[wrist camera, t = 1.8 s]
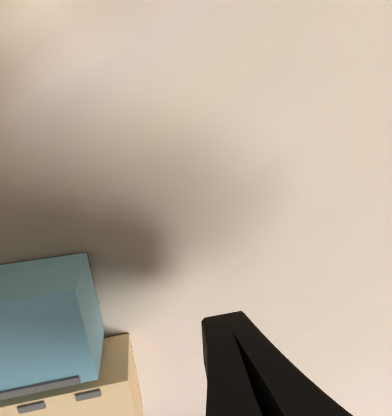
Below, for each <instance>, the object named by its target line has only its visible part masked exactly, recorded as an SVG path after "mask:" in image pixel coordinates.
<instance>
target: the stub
mask: <svg viewBox="0 0 392 416" xmlns="http://www.w3.org/2000/svg"><path fill="white" fill-rule="evenodd" d="M103 338H104V327H103V322H102V318H101V314H100V309H99V305H98V300H97V296H96V292H95V287H94V283H93V278H92V274H91V270H90V265H89V261H88V257H87V253H81V254H74V255H67V256H60V257H52V258H45V259H38V260H31V261H24V262H17V263H10V264H3V265H0V400H4V399H9V398H13V397H18V396H23V395H28V394H33V393H37V392H42V391H47V390H52V389H57V388H61V387H66V386H71V385H76V384H80V383H84V382H88V381H93V380H98V377H99V369H100V362H101V354H102V346H103Z"/></svg>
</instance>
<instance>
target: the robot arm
mask: <svg viewBox="0 0 392 416" xmlns="http://www.w3.org/2000/svg"><path fill="white" fill-rule="evenodd" d="M202 338H203V355H204V365H205V370H206V376H207V402H206V416H353V415H351V414H350V413H349V412H348V411H346V410H345V409H344V408H343V407H341V406H340V405H339V404H338V403H336V402H335V401H334V400H333V399H332V398H330V397H329V396H328V395H327V394H326V393H324V392H323V391H322V390H321V389H320V388H319V387H318V386H316V385H315V384H314V383H313V382H312V381H311V380H310V379H308V378H307V377H306V376H305V375H304V374H303V373H302V372H301V371H300V370H299V369H298V368H296V367H295V366H294V365H293V364H292V363H291V362H290V361H289V360H288V359H287V358H286V357H285V356H284V355H283V354H282V353H281V352H280V351H279V350H278V349H277V348H276V347H275V346H274V345H273V344H272V343H271V342H270V341H269V340H268V339H267V338H266V337H265V336H264V335H263V334H262V332H261V331H260V330H259V329H258V328H257V327H256V326H255V325H254V324H253V323H252V322H251V320H250V319H249V318H248V317H247V316H246V315H245V314H244V313H243V312H242V311H238V312H233V313H228V314H222V315H217V316H212V317H206V318H204V319H203V320H202Z"/></svg>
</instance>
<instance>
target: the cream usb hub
mask: <svg viewBox="0 0 392 416" xmlns="http://www.w3.org/2000/svg"><path fill="white" fill-rule="evenodd" d="M0 416H143V406H142V400H141V395H140V390H139V384H138V379H137V374H136V368H135V363H134V357H133V352H132V347H131V341H130V336H129V333H128V334H123V335H117V336H112V337H107V338H103V346H102V354H101V362H100V369H99V377H98V380H93V381H88V382H84V383H80V384H76V385H71V386H66V387H61V388H57V389H52V390H47V391H42V392H37V393H33V394H28V395H23V396H18V397H13V398H9V399H4V400H0Z"/></svg>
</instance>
